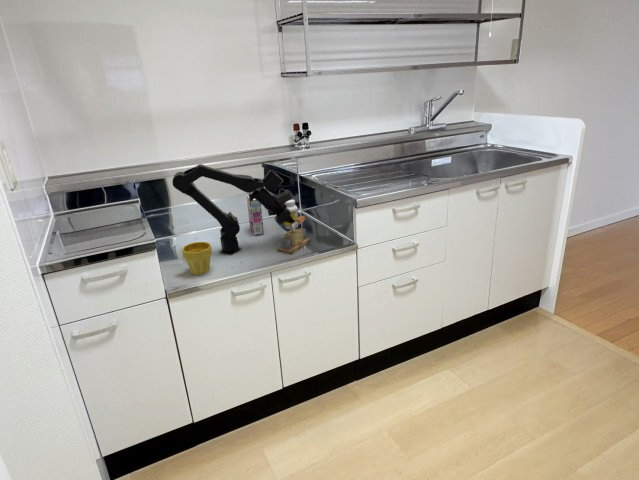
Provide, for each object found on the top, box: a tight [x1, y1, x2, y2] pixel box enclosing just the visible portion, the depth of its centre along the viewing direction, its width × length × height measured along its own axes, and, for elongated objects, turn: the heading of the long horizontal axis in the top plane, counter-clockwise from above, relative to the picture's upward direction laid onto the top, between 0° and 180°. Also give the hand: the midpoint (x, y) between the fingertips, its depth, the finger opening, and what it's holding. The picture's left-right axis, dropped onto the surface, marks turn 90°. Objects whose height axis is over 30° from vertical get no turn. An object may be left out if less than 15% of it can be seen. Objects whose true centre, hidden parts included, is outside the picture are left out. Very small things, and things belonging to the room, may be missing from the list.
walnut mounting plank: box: [276, 237, 312, 255], centre depth 170 cm, size 15×7×2 cm, turn 150°
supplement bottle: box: [283, 199, 300, 230], centre depth 190 cm, size 7×7×13 cm
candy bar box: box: [246, 194, 264, 237], centre depth 186 cm, size 11×5×16 cm, turn 17°
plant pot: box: [181, 241, 213, 276], centre depth 151 cm, size 10×10×10 cm
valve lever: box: [290, 215, 306, 229], centre depth 171 cm, size 11×3×2 cm, turn 158°
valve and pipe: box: [280, 227, 308, 250], centre depth 169 cm, size 14×5×7 cm, turn 150°
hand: (294, 222), depth 172 cm, fingers closed
